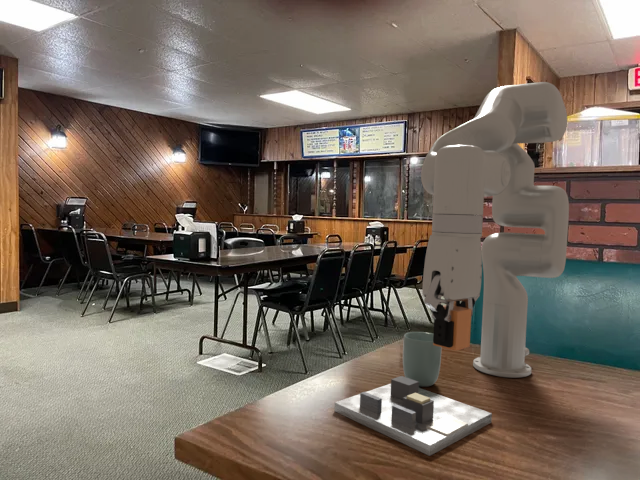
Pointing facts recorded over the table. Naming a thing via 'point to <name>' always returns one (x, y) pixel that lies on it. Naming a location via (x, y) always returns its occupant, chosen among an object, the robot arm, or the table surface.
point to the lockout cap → (460, 328)
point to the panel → (414, 418)
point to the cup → (421, 358)
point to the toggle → (403, 387)
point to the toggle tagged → (419, 406)
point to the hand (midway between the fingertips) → (451, 341)
